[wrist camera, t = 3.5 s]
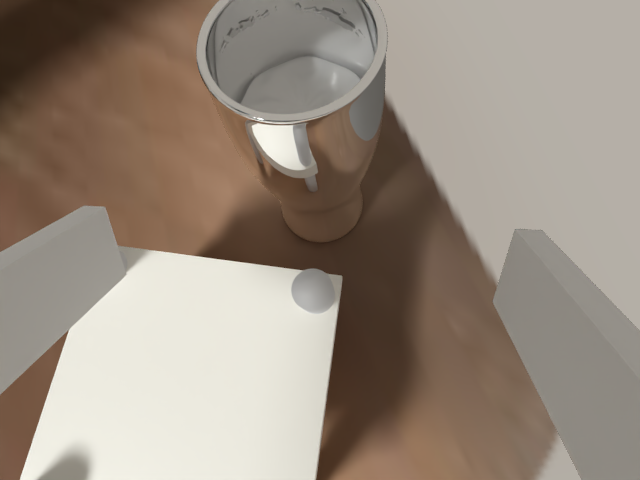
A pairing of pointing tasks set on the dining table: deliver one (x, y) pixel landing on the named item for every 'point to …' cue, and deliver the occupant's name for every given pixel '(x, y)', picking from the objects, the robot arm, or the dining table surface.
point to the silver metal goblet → (300, 100)
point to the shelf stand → (193, 375)
